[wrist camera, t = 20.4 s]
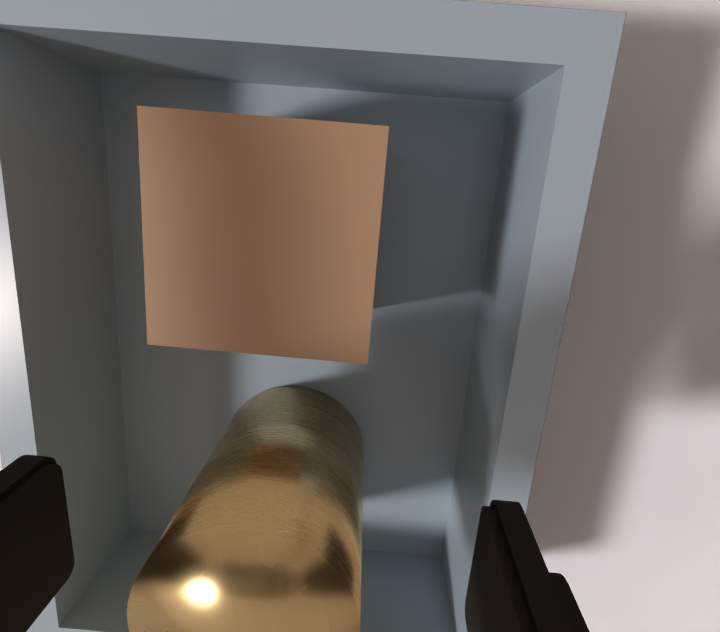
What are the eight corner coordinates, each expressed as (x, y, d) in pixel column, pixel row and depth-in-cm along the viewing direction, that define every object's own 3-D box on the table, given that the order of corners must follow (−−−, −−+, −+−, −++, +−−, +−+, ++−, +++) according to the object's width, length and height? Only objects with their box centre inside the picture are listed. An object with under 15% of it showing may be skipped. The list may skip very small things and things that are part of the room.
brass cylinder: (371, 393, 16) (371, 541, 9) (357, 515, 17) (349, 723, 11) (226, 378, 16) (122, 517, 9) (224, 503, 17) (130, 703, 11)
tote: (540, 73, 14) (626, 12, 9) (460, 564, 19) (489, 694, 14) (81, 40, 14) (-72, -37, 9) (118, 533, 19) (29, 649, 14)
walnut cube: (385, 147, 14) (389, 125, 9) (371, 308, 15) (367, 364, 10) (220, 134, 14) (136, 105, 9) (220, 295, 15) (147, 344, 11)
